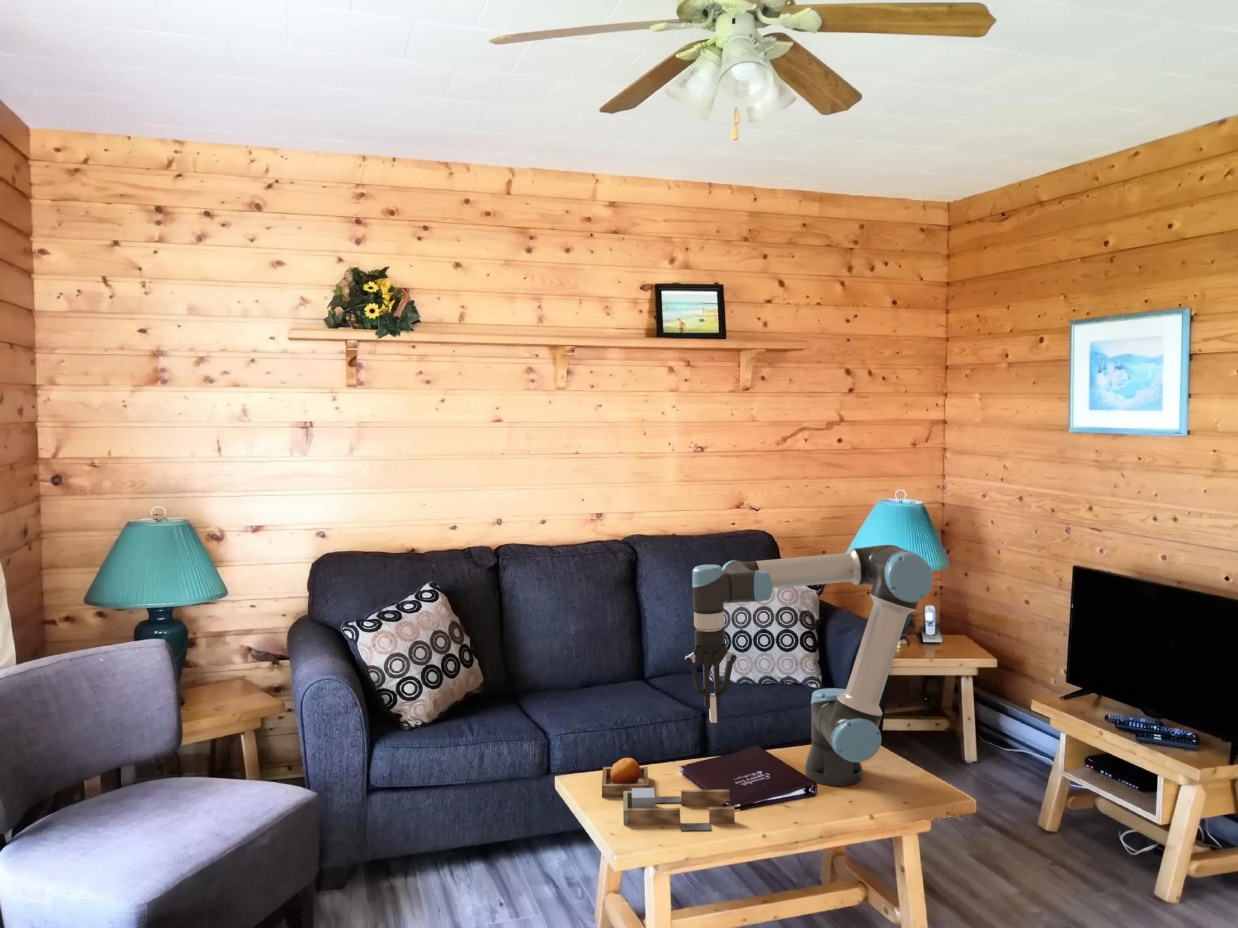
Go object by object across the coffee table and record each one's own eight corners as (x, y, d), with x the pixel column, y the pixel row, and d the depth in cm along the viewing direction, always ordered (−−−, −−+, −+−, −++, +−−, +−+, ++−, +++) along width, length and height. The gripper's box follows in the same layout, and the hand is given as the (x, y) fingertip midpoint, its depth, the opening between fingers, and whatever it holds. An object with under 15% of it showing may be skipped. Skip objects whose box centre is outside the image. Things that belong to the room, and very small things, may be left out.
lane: (727, 796, 231) (727, 783, 231) (736, 830, 213) (736, 815, 213) (623, 797, 232) (623, 784, 231) (623, 831, 213) (623, 817, 213)
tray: (647, 777, 244) (647, 766, 244) (648, 796, 232) (648, 784, 232) (603, 777, 244) (602, 766, 244) (602, 796, 232) (601, 785, 232)
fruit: (645, 786, 233) (628, 759, 233) (619, 800, 235) (603, 773, 235) (649, 774, 241) (634, 748, 241) (625, 787, 242) (609, 761, 243)
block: (654, 809, 225) (653, 787, 225) (655, 819, 220) (654, 797, 219) (632, 809, 225) (631, 787, 225) (632, 819, 220) (632, 797, 219)
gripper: (733, 622, 229) (736, 714, 231) (681, 625, 229) (685, 717, 230) (737, 629, 222) (741, 724, 223) (684, 632, 221) (688, 727, 223)
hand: (713, 720), depth 227 cm, fingers closed
